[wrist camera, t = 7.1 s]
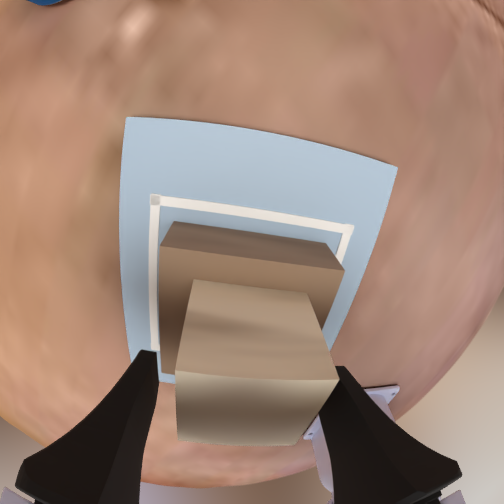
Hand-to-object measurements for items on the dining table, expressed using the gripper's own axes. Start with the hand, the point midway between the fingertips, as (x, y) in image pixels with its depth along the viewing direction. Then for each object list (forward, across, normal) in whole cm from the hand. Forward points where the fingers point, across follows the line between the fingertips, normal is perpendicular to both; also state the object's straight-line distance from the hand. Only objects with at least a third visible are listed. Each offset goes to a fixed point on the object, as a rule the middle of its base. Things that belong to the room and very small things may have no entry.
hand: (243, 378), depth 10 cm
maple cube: (+3, 0, 0) cm, 3 cm away
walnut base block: (+6, 0, 0) cm, 6 cm away
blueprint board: (+7, 0, 0) cm, 7 cm away
